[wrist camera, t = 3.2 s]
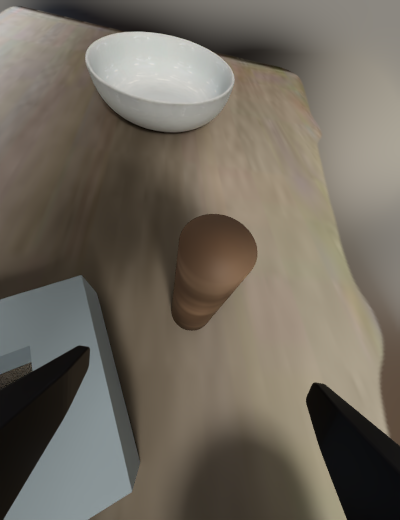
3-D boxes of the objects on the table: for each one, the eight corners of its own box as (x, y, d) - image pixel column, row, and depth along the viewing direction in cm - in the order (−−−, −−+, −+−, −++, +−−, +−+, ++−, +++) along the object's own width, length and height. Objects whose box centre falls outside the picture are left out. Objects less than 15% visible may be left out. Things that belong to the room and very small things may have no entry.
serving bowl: (244, 143, 36) (260, 97, 30) (116, 162, 30) (104, 109, 24) (196, 78, 44) (201, 31, 38) (86, 82, 38) (71, 27, 32)
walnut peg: (217, 320, 22) (271, 267, 11) (180, 337, 20) (198, 295, 9) (201, 285, 23) (234, 206, 12) (165, 299, 22) (167, 224, 11)
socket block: (140, 462, 16) (132, 491, 12) (-116, 614, 12) (-259, 737, 8) (96, 293, 21) (81, 274, 17) (-92, 355, 17) (-169, 350, 13)
